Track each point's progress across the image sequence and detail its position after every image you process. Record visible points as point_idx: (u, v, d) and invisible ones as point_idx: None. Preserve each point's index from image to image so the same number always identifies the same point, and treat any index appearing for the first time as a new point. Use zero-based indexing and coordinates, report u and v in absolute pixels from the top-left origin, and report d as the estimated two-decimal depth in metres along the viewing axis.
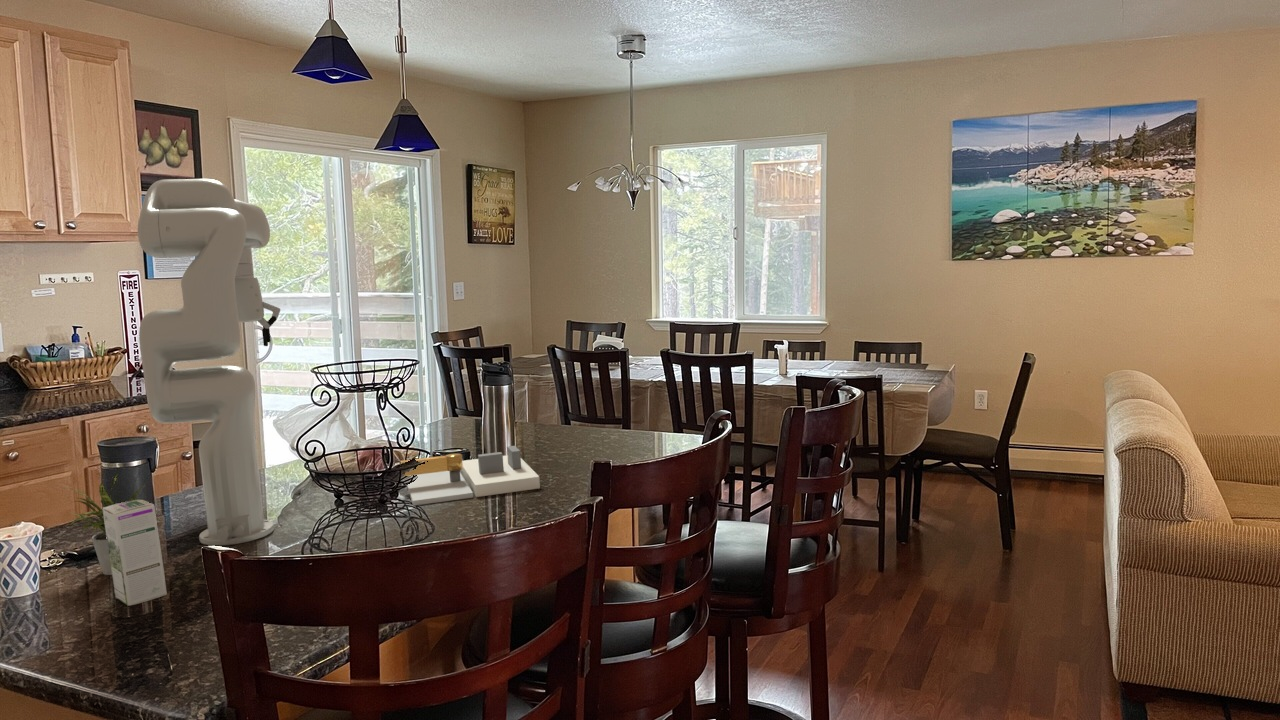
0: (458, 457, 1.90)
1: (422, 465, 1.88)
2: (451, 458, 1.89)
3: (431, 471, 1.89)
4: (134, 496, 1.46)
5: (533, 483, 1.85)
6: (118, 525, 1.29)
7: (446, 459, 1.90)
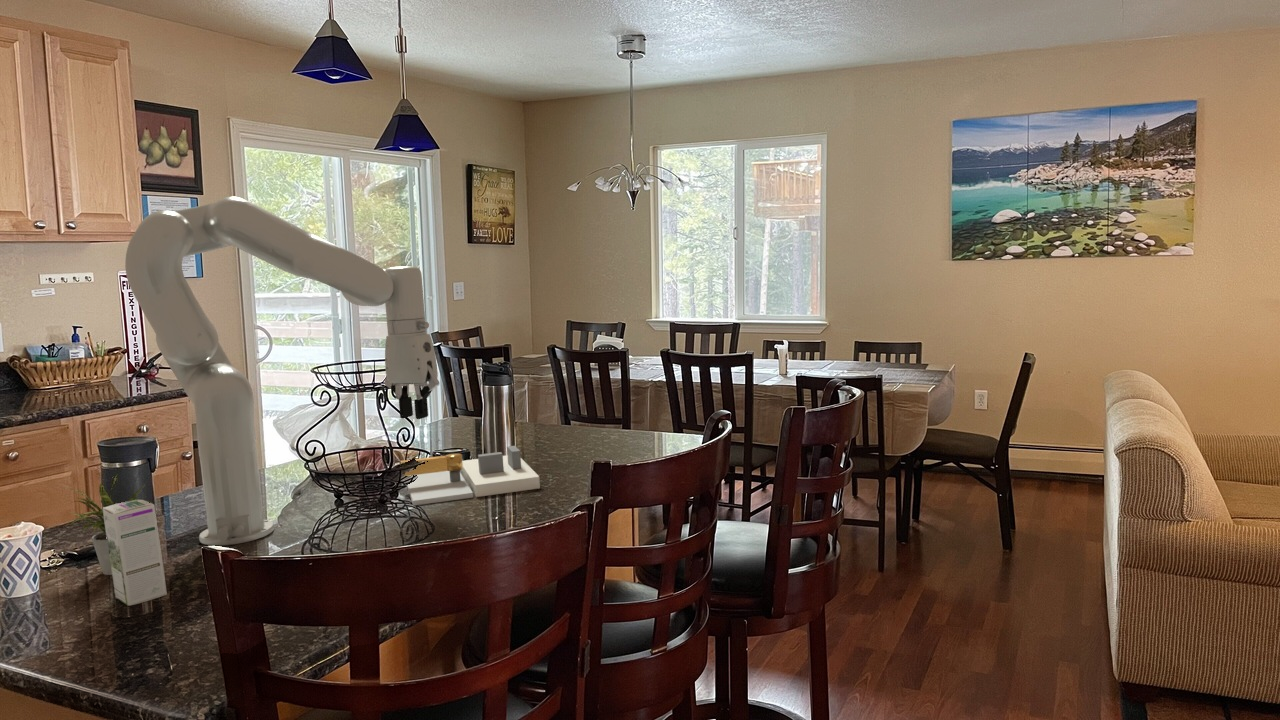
0: (458, 457, 1.90)
1: (422, 465, 1.88)
2: (451, 458, 1.89)
3: (431, 471, 1.89)
4: (134, 496, 1.46)
5: (533, 483, 1.85)
6: (119, 525, 1.29)
7: (446, 459, 1.90)
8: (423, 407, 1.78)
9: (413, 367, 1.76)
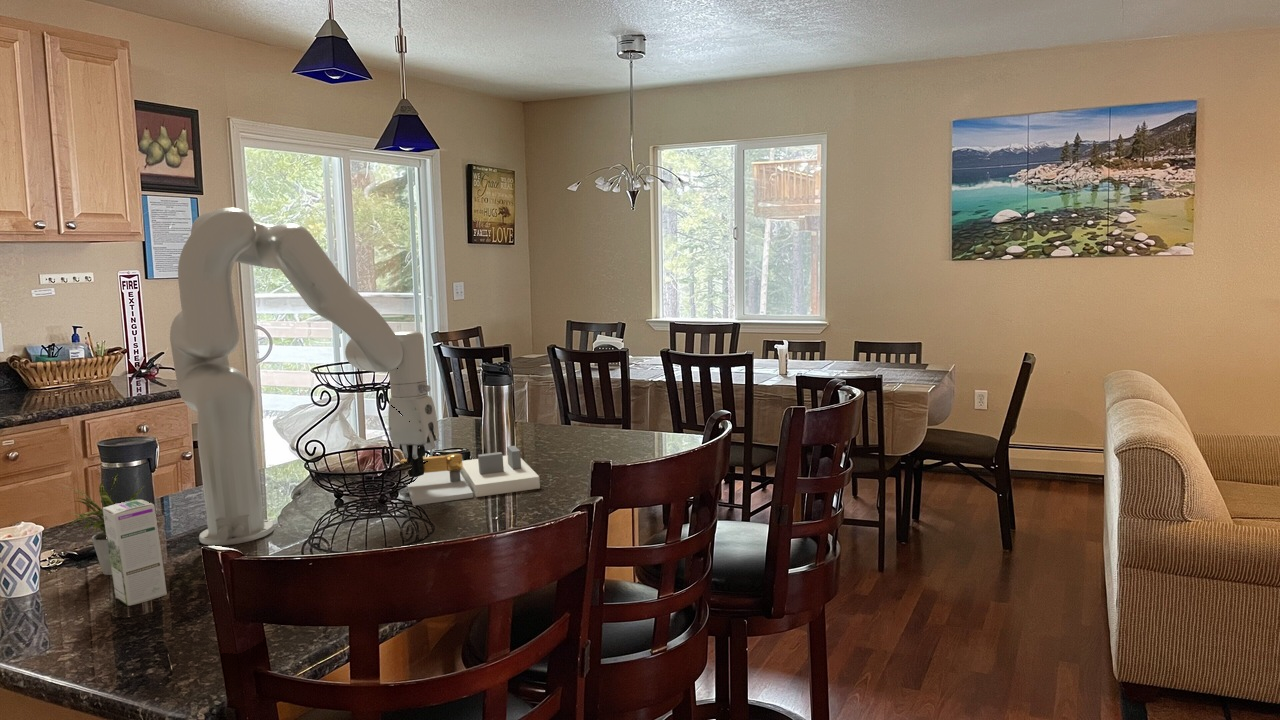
0: (457, 457, 1.90)
1: None
2: (450, 458, 1.89)
3: (430, 470, 1.90)
4: (134, 496, 1.46)
5: (533, 483, 1.85)
6: (118, 525, 1.29)
7: (446, 459, 1.90)
8: (419, 466, 1.86)
9: (415, 429, 1.82)
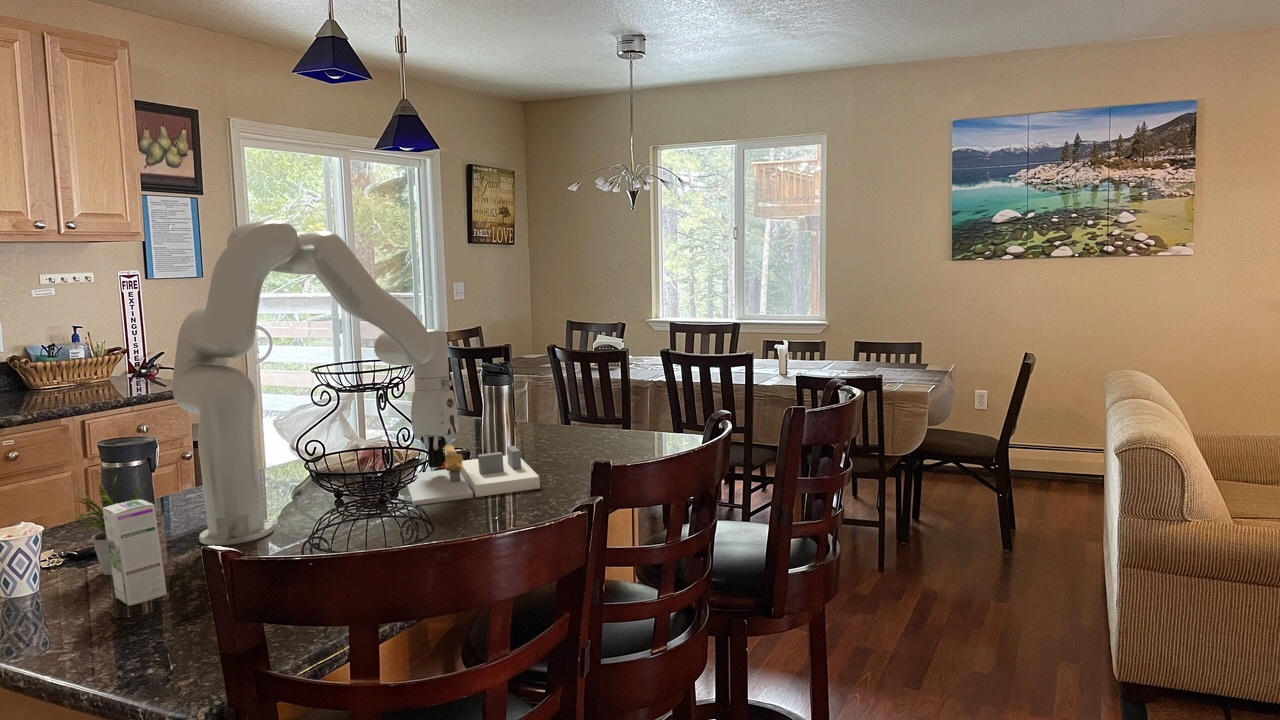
0: (446, 457, 1.90)
1: (446, 454, 1.97)
2: None
3: None
4: (134, 496, 1.46)
5: (533, 483, 1.85)
6: (119, 525, 1.29)
7: None
8: (439, 457, 1.96)
9: (437, 421, 1.93)
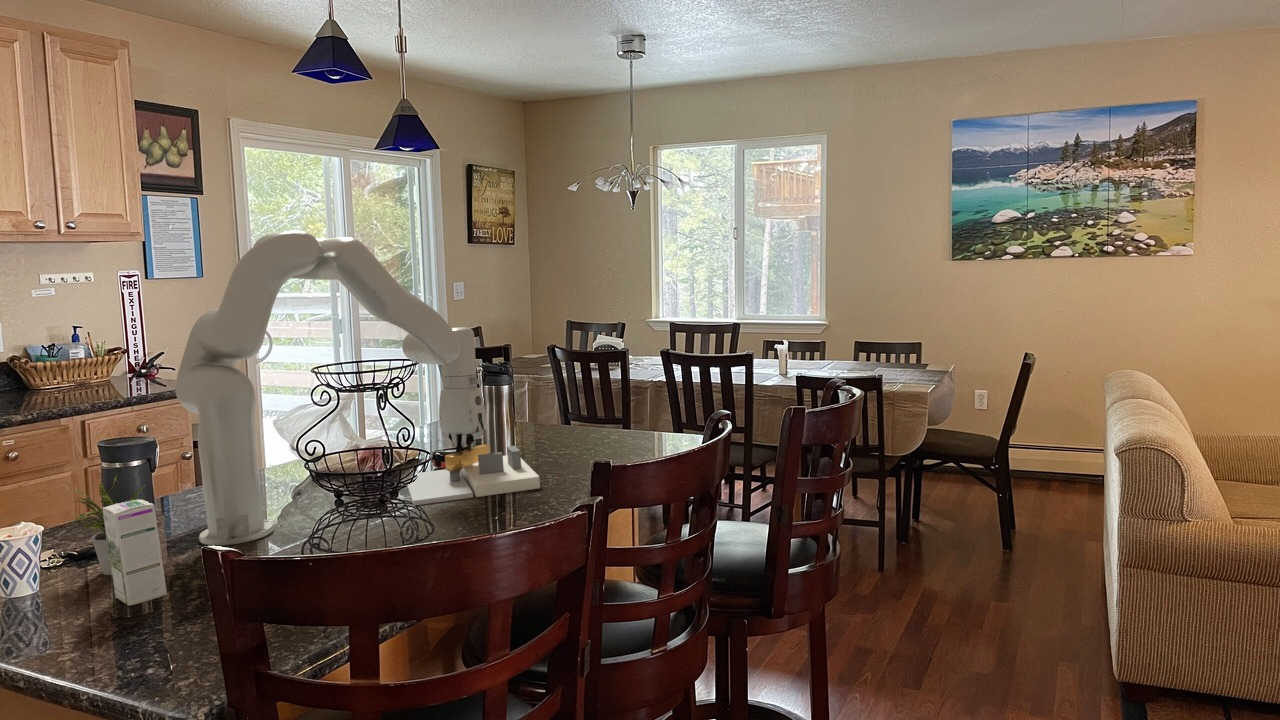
0: None
1: None
2: None
3: None
4: (134, 496, 1.46)
5: (533, 483, 1.85)
6: (118, 525, 1.29)
7: None
8: None
9: (465, 419, 1.95)
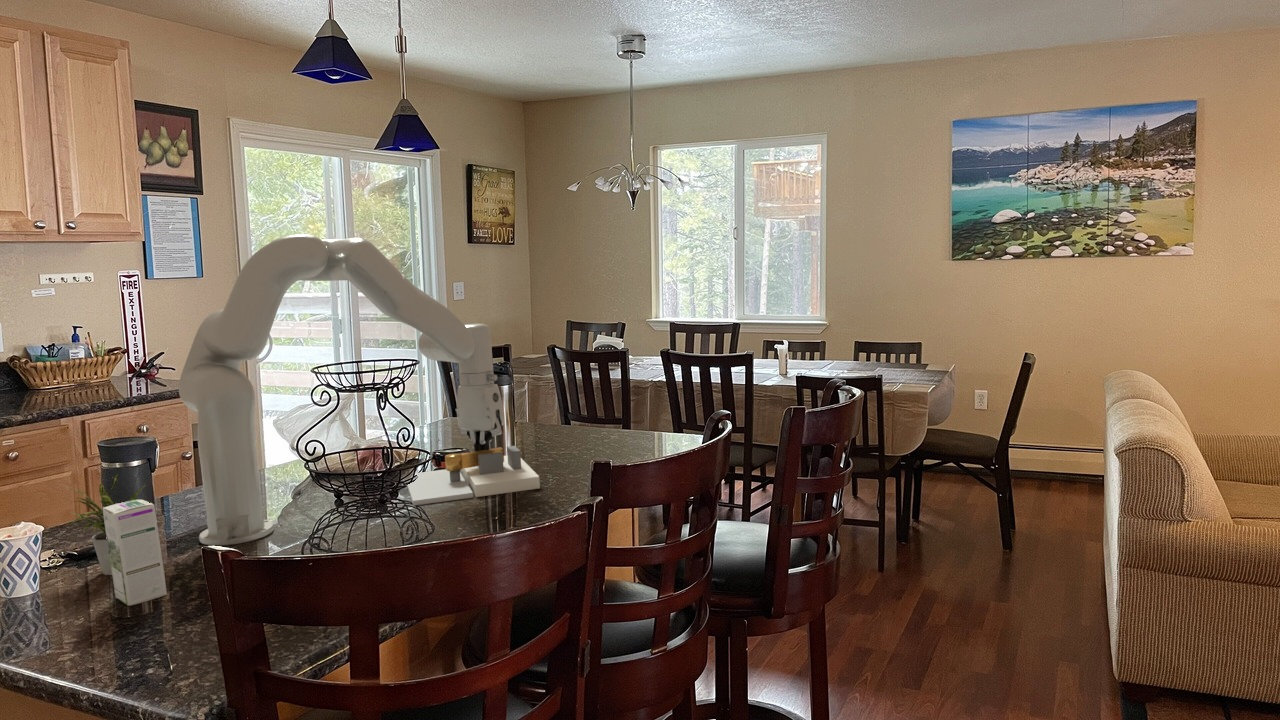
0: None
1: None
2: None
3: None
4: (134, 496, 1.46)
5: (533, 483, 1.85)
6: (119, 525, 1.29)
7: None
8: None
9: (483, 415, 1.94)
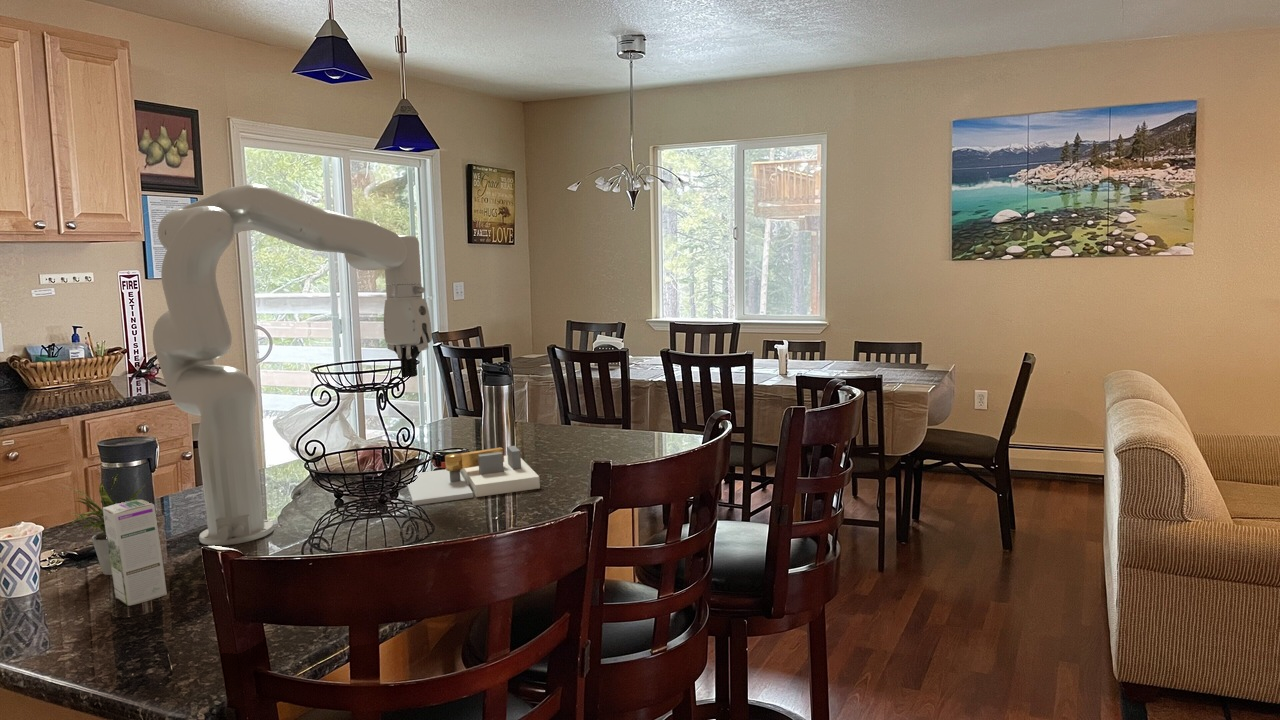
0: None
1: None
2: None
3: None
4: (134, 496, 1.46)
5: (533, 483, 1.85)
6: (119, 525, 1.29)
7: None
8: (412, 366, 1.92)
9: (409, 329, 1.89)
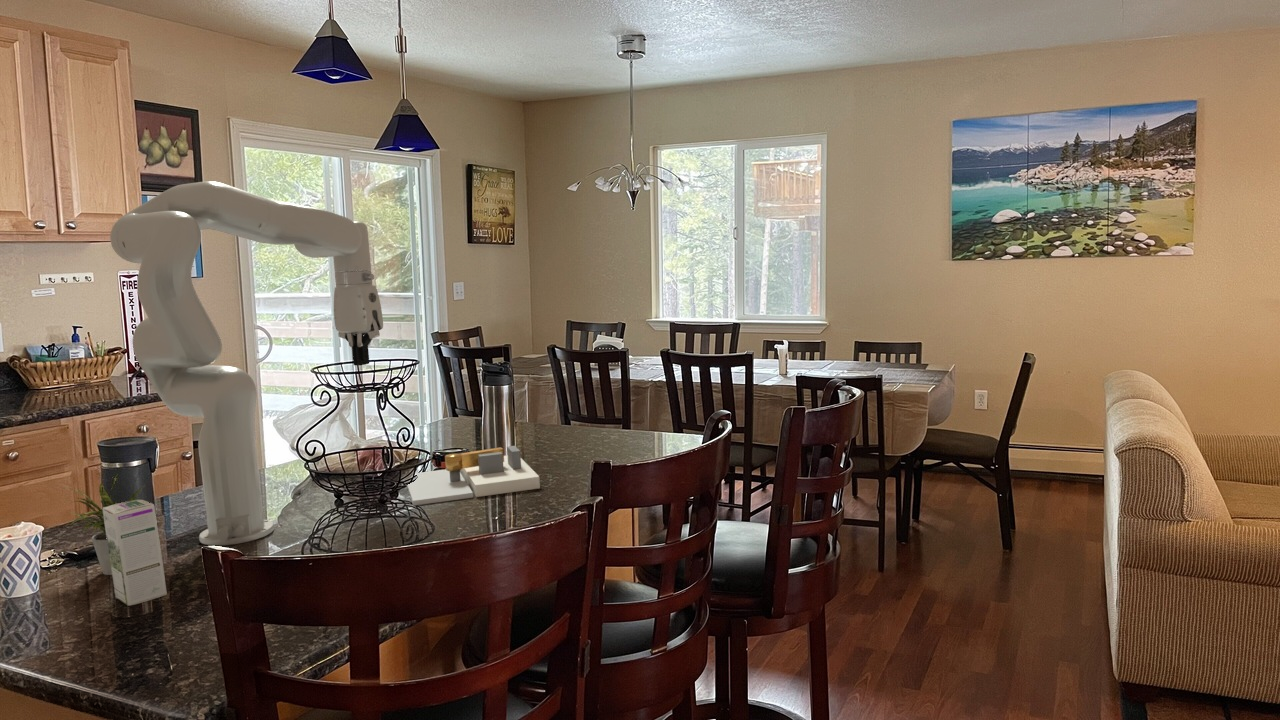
0: None
1: None
2: None
3: None
4: (134, 496, 1.46)
5: (533, 483, 1.85)
6: (118, 525, 1.29)
7: None
8: (364, 354, 1.90)
9: (359, 316, 1.87)
